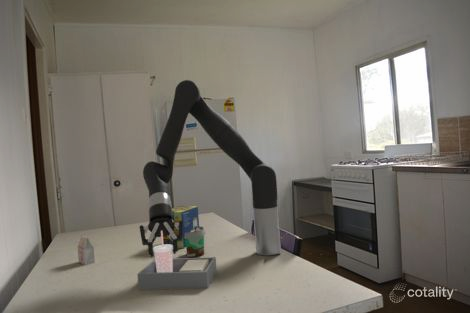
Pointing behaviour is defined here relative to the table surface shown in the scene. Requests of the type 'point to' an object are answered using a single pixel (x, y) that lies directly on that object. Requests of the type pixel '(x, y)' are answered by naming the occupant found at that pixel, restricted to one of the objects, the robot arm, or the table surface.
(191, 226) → the protein box
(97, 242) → the table surface
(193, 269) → the beige rectangular block
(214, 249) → the table surface
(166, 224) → the robot arm
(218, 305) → the table surface
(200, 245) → the food container
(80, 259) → the small milk carton
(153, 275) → the tray
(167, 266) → the beverage cup
